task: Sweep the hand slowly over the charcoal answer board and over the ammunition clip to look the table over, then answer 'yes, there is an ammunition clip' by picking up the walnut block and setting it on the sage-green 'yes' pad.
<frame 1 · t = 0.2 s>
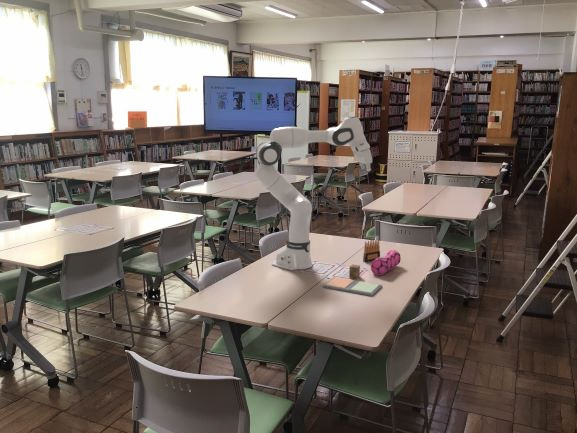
hand: (366, 169, 263), 52 cm above the table, tool tilted 20°, fingers open, 8 cm apart
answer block: (354, 277, 248), on the table
answer board: (352, 287, 234), on the table
pencil case: (386, 271, 258), on the table
ammunition clip: (371, 260, 275), on the table
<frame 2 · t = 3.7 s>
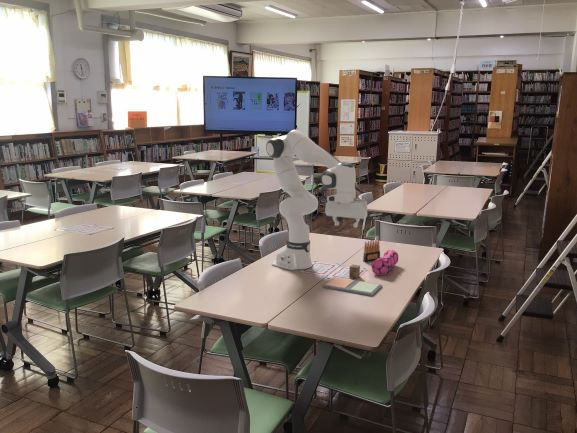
hand: (346, 226, 229), 30 cm above the table, tool pointing down, fingers open, 8 cm apart
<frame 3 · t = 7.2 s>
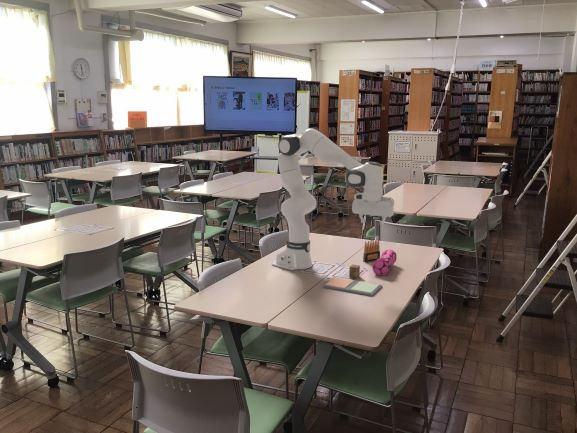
hand: (372, 224, 235), 29 cm above the table, tool pointing down, fingers open, 8 cm apart
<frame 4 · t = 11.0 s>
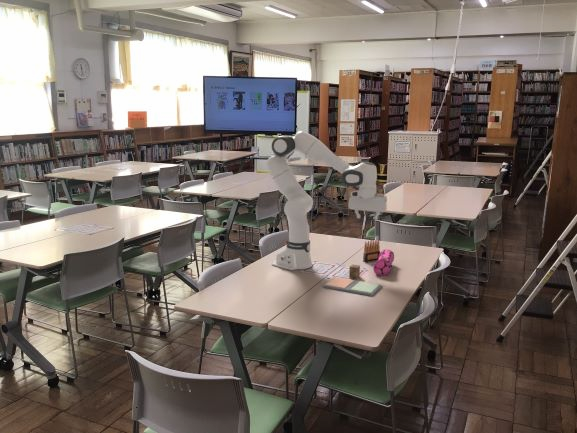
hand: (367, 218, 256), 27 cm above the table, tool pointing down, fingers open, 8 cm apart
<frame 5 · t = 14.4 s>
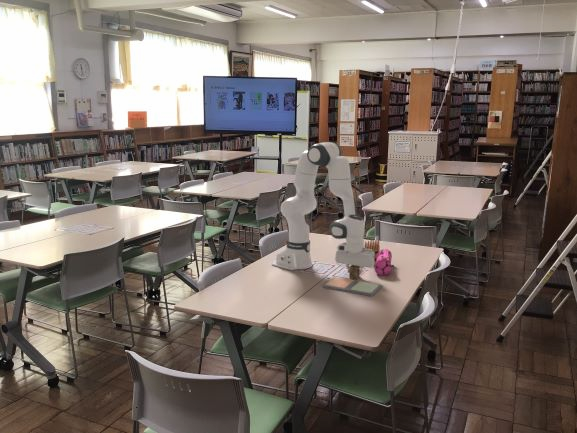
hand: (354, 273, 247), 2 cm above the table, tool pointing down, fingers closed on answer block, 4 cm apart
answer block: (354, 277, 248), on the table, touching gripper
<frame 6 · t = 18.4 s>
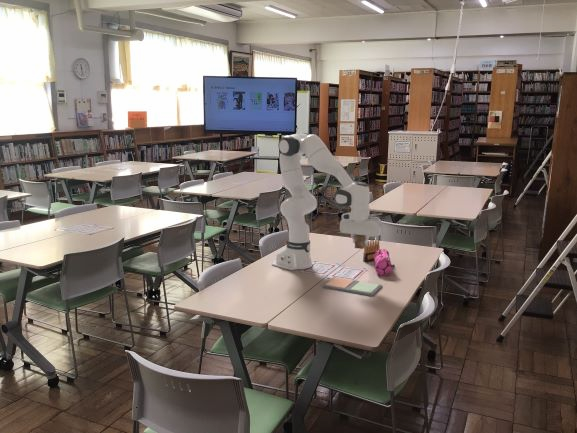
hand: (360, 243, 237), 20 cm above the table, tool pointing down, fingers closed on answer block, 4 cm apart
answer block: (360, 247, 237), point 18 cm above the table, touching gripper
when the fingers open (5 cm above the table, at t = 22.3 s): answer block drops 2 cm, resting on answer board.
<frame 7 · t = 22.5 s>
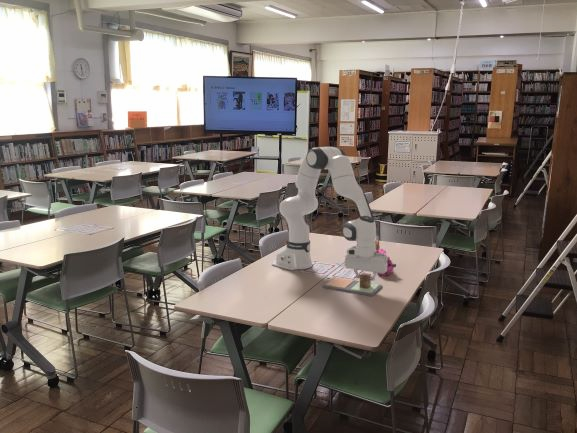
hand: (365, 279, 230), 5 cm above the table, tool pointing down, fingers open, 6 cm apart
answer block: (365, 286, 230), point 1 cm above the table, touching answer board
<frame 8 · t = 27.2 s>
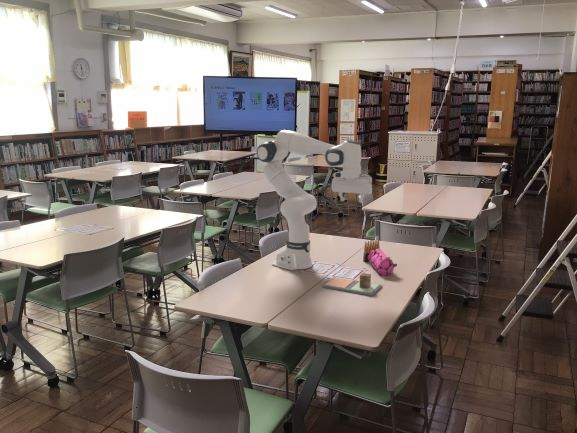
hand: (351, 201, 240), 39 cm above the table, tool pointing down, fingers open, 8 cm apart
at the end: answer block inside the target area on the answer board (0.1 cm from its centre), point 1.3 cm above the answer board's base; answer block tilted 0°; the gripper is holding nothing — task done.
